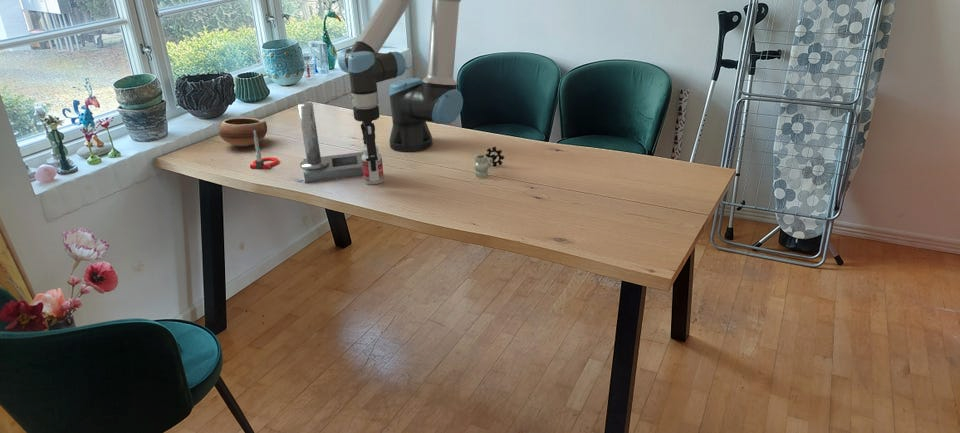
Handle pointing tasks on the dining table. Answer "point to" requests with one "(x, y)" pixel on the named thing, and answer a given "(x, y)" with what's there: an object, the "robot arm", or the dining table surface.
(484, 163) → the valve
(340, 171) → the rosette post
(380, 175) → the pill bottle
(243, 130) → the bowl
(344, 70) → the robot arm
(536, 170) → the dining table surface
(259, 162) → the tow hook
